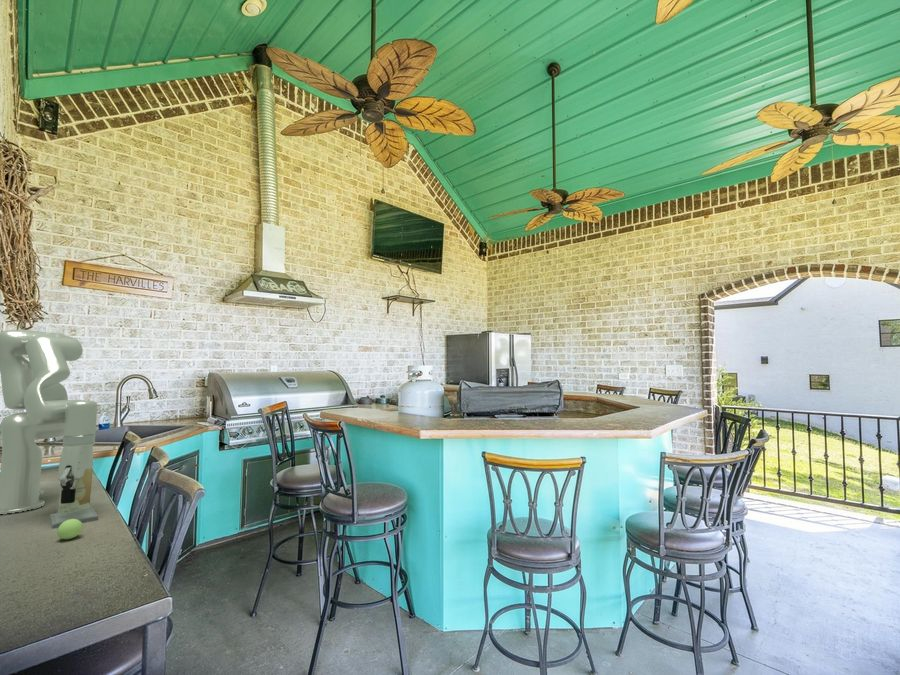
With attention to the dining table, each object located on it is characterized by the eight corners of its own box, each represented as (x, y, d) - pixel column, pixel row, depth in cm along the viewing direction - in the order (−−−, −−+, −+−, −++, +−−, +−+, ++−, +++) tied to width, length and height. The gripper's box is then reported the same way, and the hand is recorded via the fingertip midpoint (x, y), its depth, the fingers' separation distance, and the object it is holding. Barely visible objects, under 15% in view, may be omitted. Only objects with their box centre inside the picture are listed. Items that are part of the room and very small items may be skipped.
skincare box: (68, 514, 124) (71, 472, 126) (57, 513, 125) (60, 471, 126) (91, 507, 131) (93, 467, 132) (79, 506, 132) (82, 467, 133)
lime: (63, 536, 113) (64, 517, 113) (85, 534, 114) (86, 515, 115) (52, 543, 108) (53, 523, 109) (75, 541, 110) (77, 521, 110)
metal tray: (49, 517, 129) (50, 513, 129) (92, 509, 136) (92, 506, 136) (52, 528, 119) (52, 524, 119) (97, 519, 126) (98, 515, 127)
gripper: (79, 437, 137) (75, 493, 135) (47, 445, 121) (42, 509, 119) (106, 436, 139) (103, 491, 138) (79, 444, 123) (74, 506, 121)
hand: (75, 498), depth 128 cm, fingers closed on skincare box, 7 cm apart
